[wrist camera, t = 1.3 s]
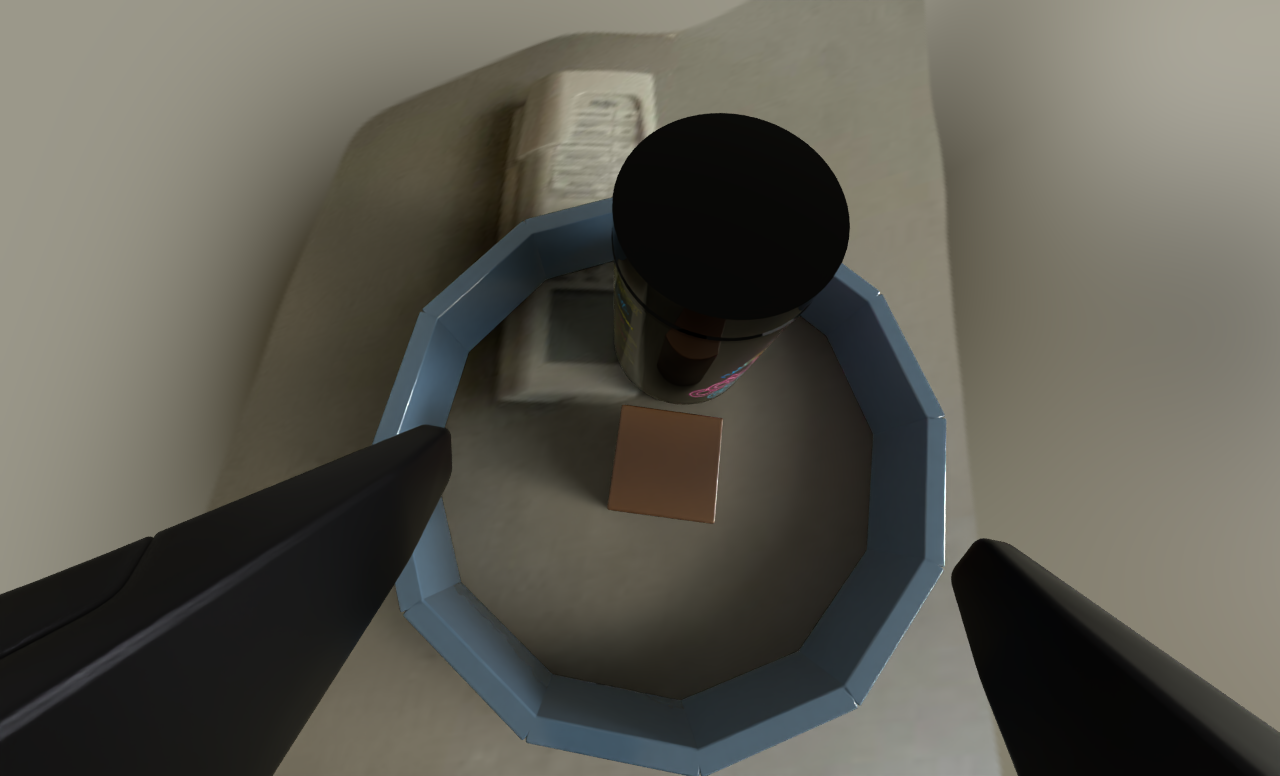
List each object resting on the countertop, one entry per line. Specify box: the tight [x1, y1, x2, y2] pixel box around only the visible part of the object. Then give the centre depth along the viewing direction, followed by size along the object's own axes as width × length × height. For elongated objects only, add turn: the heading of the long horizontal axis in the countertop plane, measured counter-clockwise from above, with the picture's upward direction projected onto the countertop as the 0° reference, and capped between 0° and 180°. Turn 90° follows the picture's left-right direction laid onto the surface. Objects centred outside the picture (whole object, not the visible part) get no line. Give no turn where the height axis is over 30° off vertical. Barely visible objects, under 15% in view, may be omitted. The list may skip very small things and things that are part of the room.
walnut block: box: [607, 405, 723, 524], centre depth 19 cm, size 4×4×4 cm
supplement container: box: [611, 113, 850, 405], centre depth 18 cm, size 7×7×10 cm
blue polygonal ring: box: [372, 197, 946, 776], centre depth 19 cm, size 22×22×4 cm
